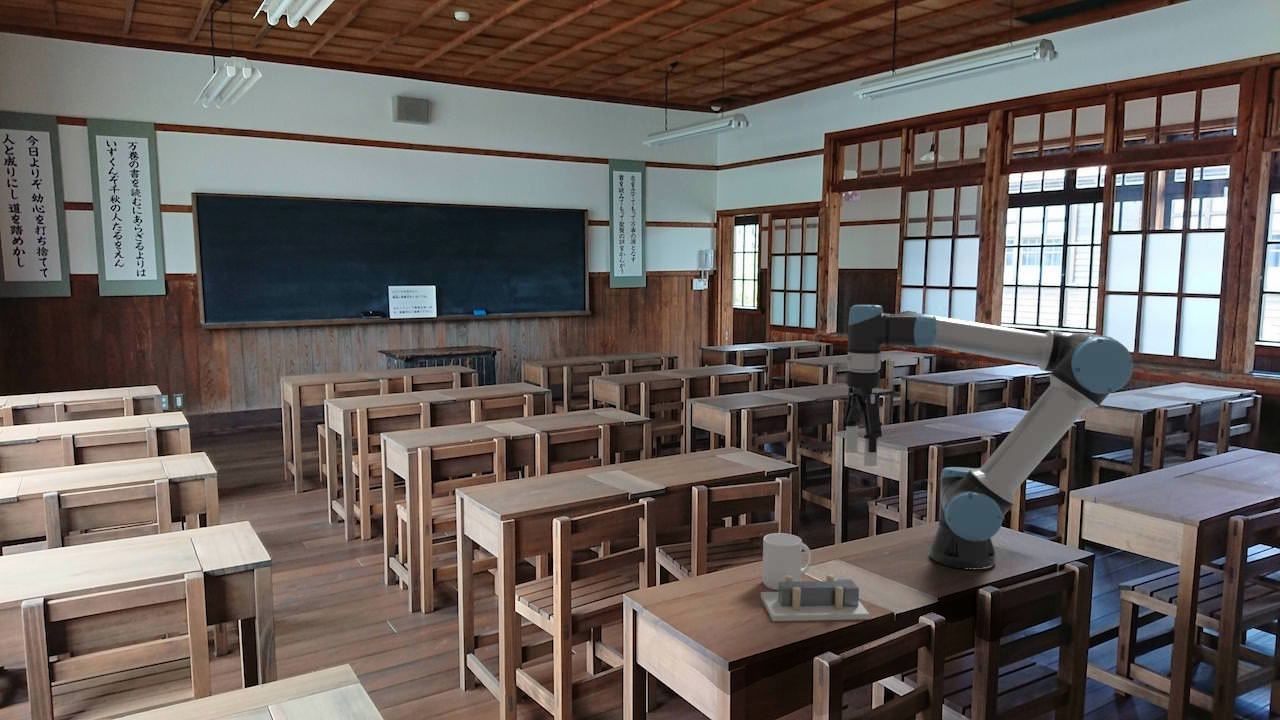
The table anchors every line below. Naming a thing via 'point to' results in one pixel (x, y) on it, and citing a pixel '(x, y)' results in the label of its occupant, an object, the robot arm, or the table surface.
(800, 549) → the mug
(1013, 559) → the table surface
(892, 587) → the table surface
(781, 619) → the rack
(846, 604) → the grey bar
